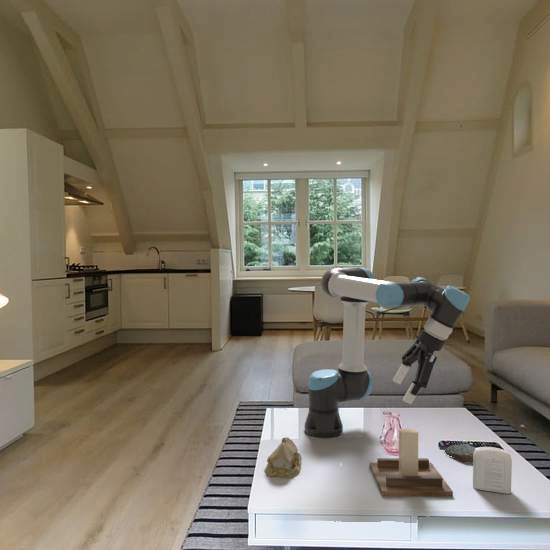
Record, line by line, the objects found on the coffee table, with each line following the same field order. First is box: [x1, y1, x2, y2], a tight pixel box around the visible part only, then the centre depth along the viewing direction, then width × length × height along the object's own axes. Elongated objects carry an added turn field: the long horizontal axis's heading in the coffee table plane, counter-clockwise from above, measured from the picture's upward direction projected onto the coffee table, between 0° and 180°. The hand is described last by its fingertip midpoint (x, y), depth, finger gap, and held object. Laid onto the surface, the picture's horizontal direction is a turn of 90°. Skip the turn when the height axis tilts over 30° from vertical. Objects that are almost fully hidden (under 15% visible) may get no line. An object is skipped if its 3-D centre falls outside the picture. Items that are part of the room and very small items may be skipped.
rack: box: [369, 457, 454, 497], centre depth 134 cm, size 18×20×4 cm
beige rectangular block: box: [398, 428, 419, 476], centre depth 134 cm, size 3×5×14 cm, turn 89°
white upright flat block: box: [472, 446, 513, 495], centre depth 129 cm, size 10×4×12 cm, turn 72°
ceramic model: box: [264, 436, 303, 479], centre depth 143 cm, size 14×11×10 cm
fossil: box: [444, 443, 476, 463], centre depth 151 cm, size 10×13×4 cm
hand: (401, 391), depth 139 cm, fingers open, 13 cm apart
